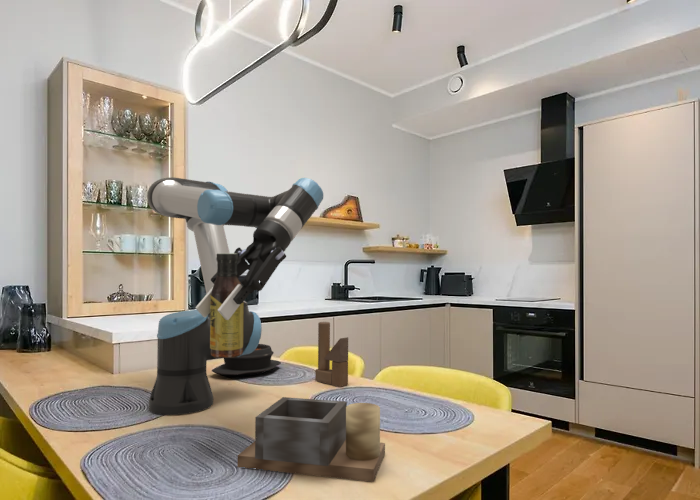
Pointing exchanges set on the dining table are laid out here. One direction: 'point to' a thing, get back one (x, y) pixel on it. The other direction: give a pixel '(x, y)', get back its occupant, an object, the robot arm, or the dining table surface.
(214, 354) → the sauce bottle
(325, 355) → the wooden block
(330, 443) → the post socket
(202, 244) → the robot arm
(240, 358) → the casserole
